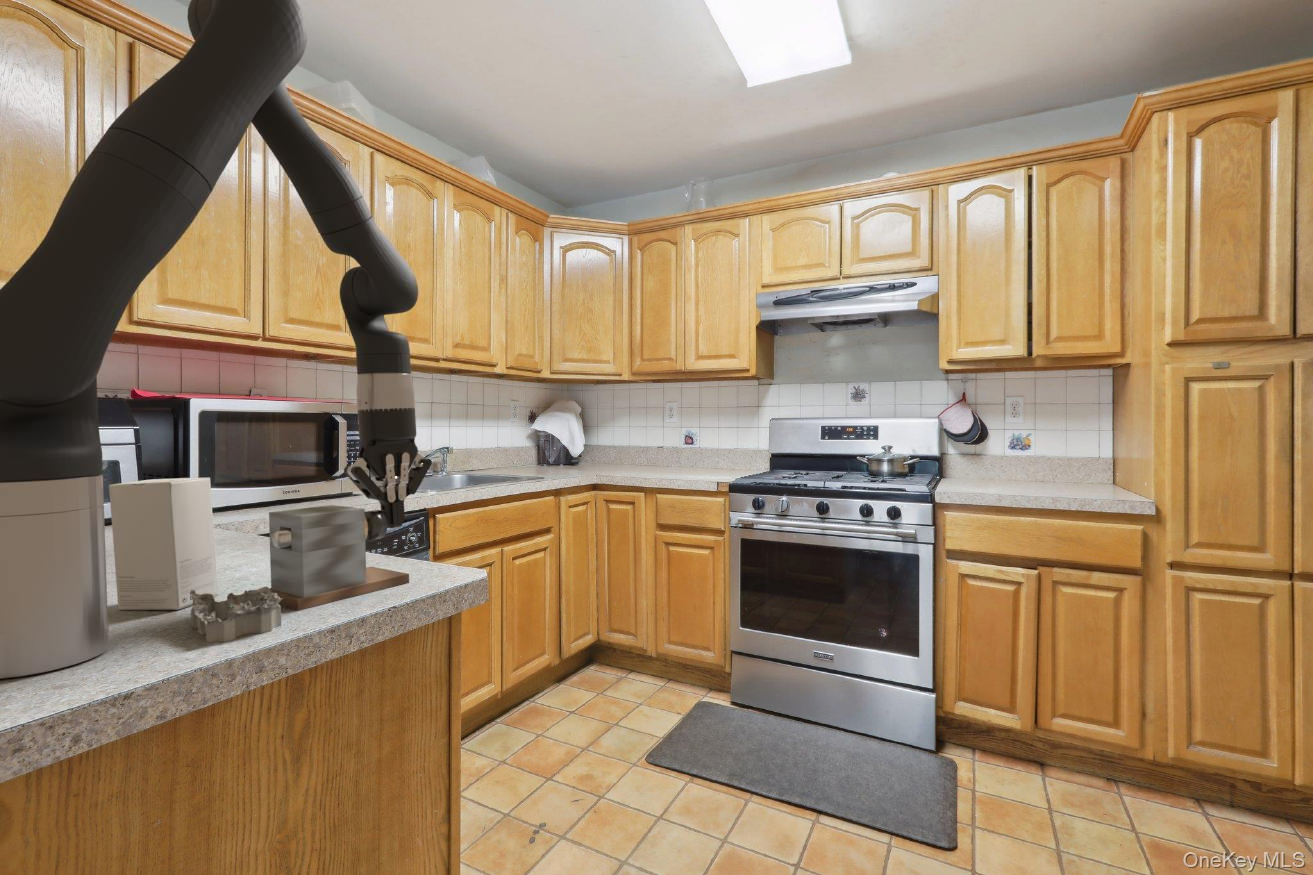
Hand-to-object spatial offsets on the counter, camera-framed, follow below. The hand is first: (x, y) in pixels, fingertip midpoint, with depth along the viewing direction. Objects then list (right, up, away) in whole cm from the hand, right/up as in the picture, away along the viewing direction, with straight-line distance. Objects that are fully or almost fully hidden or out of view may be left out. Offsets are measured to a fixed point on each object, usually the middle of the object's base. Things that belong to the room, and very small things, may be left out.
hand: (393, 526), depth 89 cm
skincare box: (-23, -8, -12) cm, 27 cm away
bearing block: (-4, -7, -7) cm, 11 cm away
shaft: (-5, -2, -8) cm, 9 cm away
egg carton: (-8, -8, -21) cm, 24 cm away
